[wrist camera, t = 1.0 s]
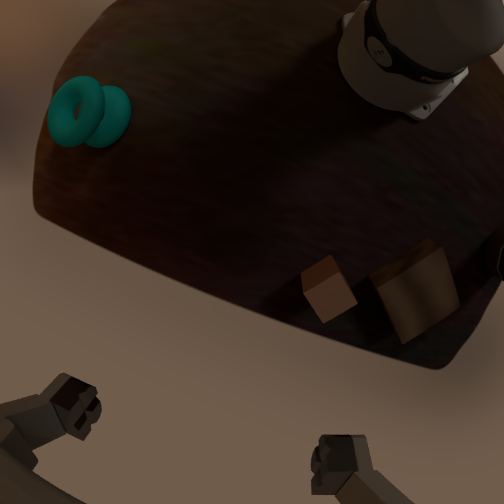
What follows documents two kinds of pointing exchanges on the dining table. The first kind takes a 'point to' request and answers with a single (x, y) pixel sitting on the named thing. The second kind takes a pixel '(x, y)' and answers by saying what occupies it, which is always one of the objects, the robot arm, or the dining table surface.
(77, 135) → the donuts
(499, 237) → the beer bottle
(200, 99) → the dining table surface
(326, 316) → the terracotta block
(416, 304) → the walnut block
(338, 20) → the dining table surface
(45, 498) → the robot arm
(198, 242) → the dining table surface
